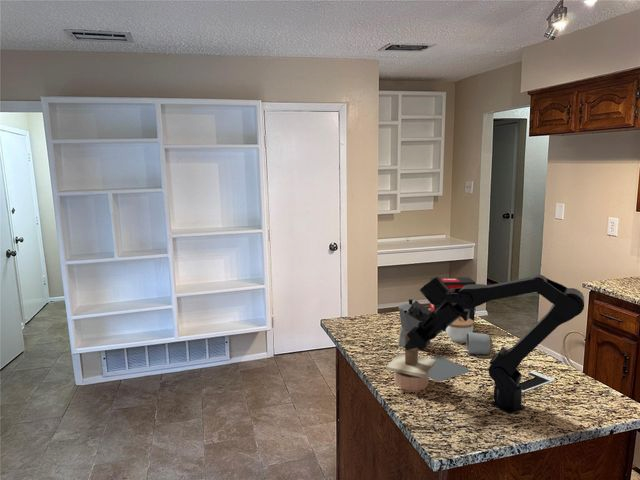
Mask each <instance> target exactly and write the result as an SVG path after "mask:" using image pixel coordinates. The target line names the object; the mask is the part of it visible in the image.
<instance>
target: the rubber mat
mask: <svg viewBox="0 0 640 480" xmlns="http://www.w3.org/2000/svg"><path fill="white" fill-rule="evenodd" d="M429 358H430V359H435V360H436V364H435V365H434V366H433V368H432V369H431V370H430V372H429V376H428V378H429V379H432V380H434V381H436V382H441V381H444V380H447V379H450V378H453V377H454V378H455V377H457V376H460V375H464V374H466V373H467V374H468V373H470V372H472V370H471V369H469V368H467V367H465V366H462V365H461V364H458V363H457V362H454V361H452V360H450V359H447V358H445V357H444V356H441V355H435V356H432V357H429Z"/></svg>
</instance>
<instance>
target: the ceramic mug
mask: <svg viewBox="0 0 640 480" xmlns="http://www.w3.org/2000/svg"><path fill="white" fill-rule="evenodd" d="M492 339H493V338H492V336H491V335H489V334H486V333H479V332H473V333H472V332H468V333H467V337H466V342H465V349H466V351H467V354H469V355H470V354H471V355H485V356H486V355H491V353H492V351H493V340H492Z"/></svg>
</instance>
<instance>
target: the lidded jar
mask: <svg viewBox="0 0 640 480" xmlns="http://www.w3.org/2000/svg"><path fill="white" fill-rule="evenodd" d="M473 327H474V328H475V320H474V321H473V320H471V319H468V320H467V321H464V320H463V318H462V317H459V318H458V319H457V320H456V321H454V322H453V323H452V324H451V325H449V326H448V327H447V328H446V329H445V332H446V335H447V337H449V338H450V340H451V341H452V342H454V343H460V344H461V343H466V337H467V333H468V332H472V333H474V329H473Z"/></svg>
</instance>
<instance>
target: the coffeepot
mask: <svg viewBox="0 0 640 480" xmlns="http://www.w3.org/2000/svg"><path fill="white" fill-rule="evenodd" d="M415 302H418V303H419V301H417V300H415V301H414V302H413V299H411V298H410V299H408V303H402V304H400V305H398V312H399V319H400V325H401V328H400V332H399V338H398V346H399V347H400V348H404V347H405V334H406V333H407V332H408V331H410V330H412V329H413V328H414V327H418V324H419V322H421V321H419V320H417V319H415V318H413V317H412V316H409V315H408V309H410V307H411V305H412V304H413V303H415Z"/></svg>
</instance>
